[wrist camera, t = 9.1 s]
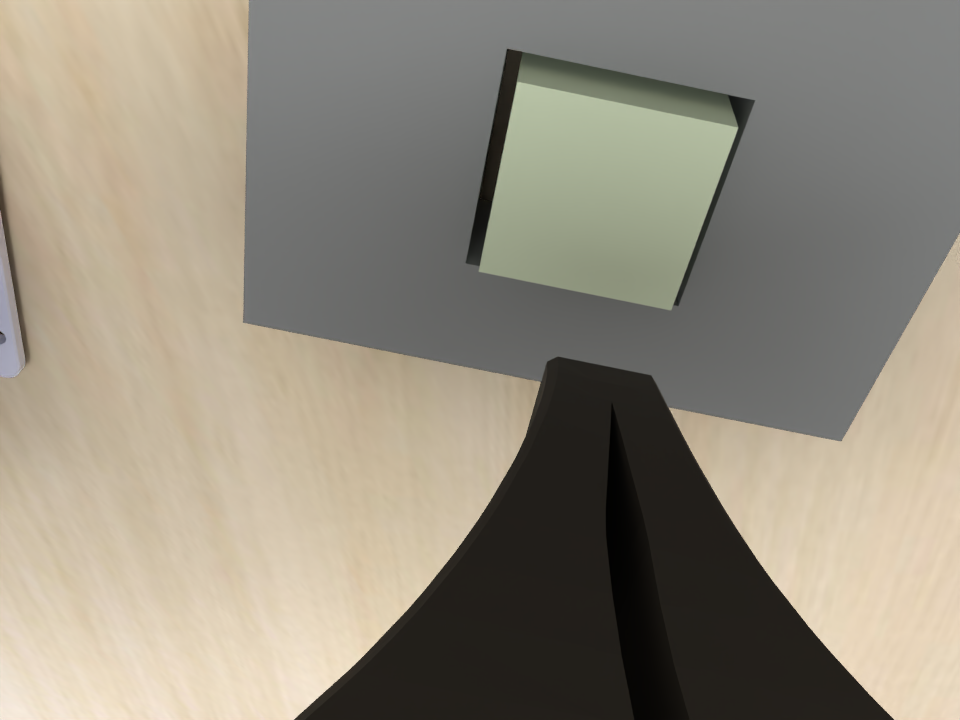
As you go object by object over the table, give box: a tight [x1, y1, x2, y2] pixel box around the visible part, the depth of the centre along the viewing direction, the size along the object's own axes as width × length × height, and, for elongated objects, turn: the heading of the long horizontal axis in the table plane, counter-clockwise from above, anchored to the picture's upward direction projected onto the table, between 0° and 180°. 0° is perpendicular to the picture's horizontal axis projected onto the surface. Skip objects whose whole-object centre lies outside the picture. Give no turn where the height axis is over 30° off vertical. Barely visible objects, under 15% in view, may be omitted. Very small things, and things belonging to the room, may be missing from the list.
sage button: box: [479, 52, 738, 310], centre depth 19 cm, size 4×4×3 cm
